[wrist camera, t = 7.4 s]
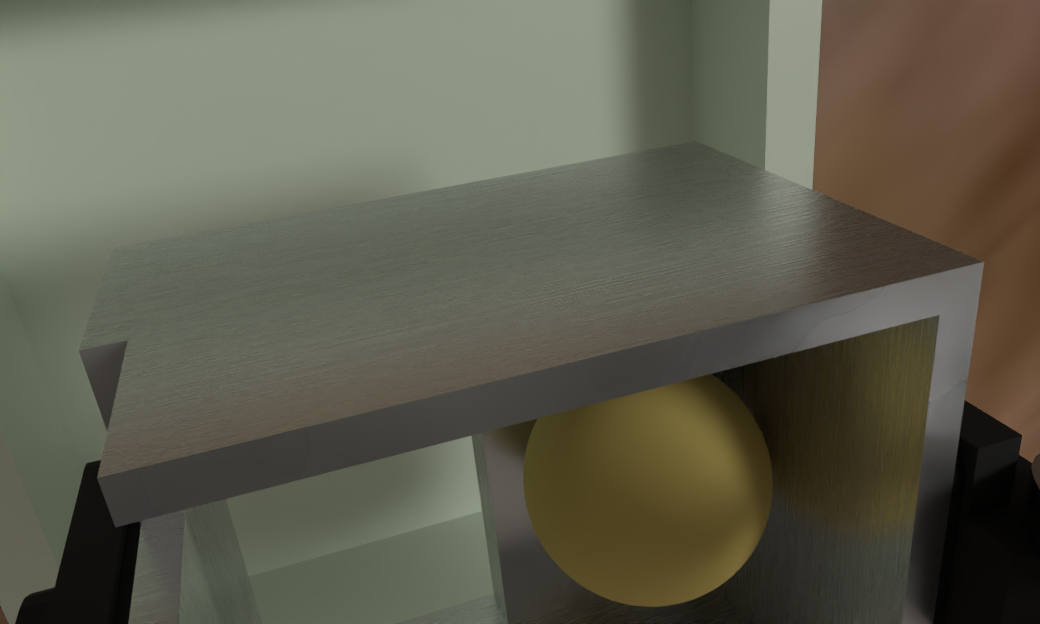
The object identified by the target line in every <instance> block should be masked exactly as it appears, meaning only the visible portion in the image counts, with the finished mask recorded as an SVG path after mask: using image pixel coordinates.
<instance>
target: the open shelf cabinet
mask: <svg viewBox="0 0 1040 624" xmlns="http://www.w3.org/2000/svg"><path fill="white" fill-rule="evenodd" d="M983 266H984V262H983V261H981V260H978V259H976V258H974V257H971V256H969V255H966V254H964V253H962V252H959V251H957V250H955V249H952V248H950V247H947V246H945V245H943V244H940V243H938V242H935V241H933V240H931V239H928V238H926V237H924V236H921V235H919V234H916V233H914V232H912V231H909V230H907V229H904V228H902V227H900V226H897V225H895V224H893V223H890V222H888V221H885V220H883V219H881V218H878V217H876V216H873V215H871V214H869V213H866V212H864V211H862V210H859V209H857V208H854V207H852V206H850V205H847V204H845V203H842V202H840V201H838V200H835V199H833V198H831V197H828V196H826V195H823V194H821V193H819V192H816V191H814V190H811V189H809V188H807V187H804V186H802V185H800V184H797V183H795V182H792V181H790V180H788V179H785V178H783V177H780V176H778V175H776V174H773V173H771V172H769V171H766V170H764V169H761V168H759V167H757V166H754V165H752V164H749V163H747V162H745V161H742V160H740V159H738V158H735V157H733V156H730V155H728V154H726V153H723V152H721V151H718V150H716V149H714V148H711V147H709V146H707V145H704V144H702V143H699V142H697V141H693V142H687V143H682V144H676V145H671V146H666V147H660V148H655V149H649V150H644V151H639V152H633V153H628V154H622V155H617V156H611V157H606V158H601V159H595V160H590V161H584V162H579V163H573V164H568V165H563V166H557V167H552V168H546V169H541V170H535V171H530V172H525V173H519V174H514V175H508V176H503V177H498V178H492V179H487V180H481V181H476V182H470V183H465V184H460V185H454V186H449V187H443V188H438V189H432V190H427V191H422V192H416V193H411V194H405V195H400V196H394V197H389V198H384V199H378V200H373V201H367V202H362V203H357V204H351V205H346V206H340V207H335V208H329V209H324V210H319V211H313V212H308V213H302V214H297V215H291V216H286V217H281V218H275V219H270V220H264V221H259V222H254V223H248V224H243V225H237V226H232V227H226V228H221V229H216V230H210V231H205V232H199V233H194V234H188V235H183V236H178V237H172V238H167V239H161V240H156V241H150V242H145V243H140V244H134V245H129V246H123V247H118V248H113V249H112V252H111V255H110V258H109V261H108V264H107V267H106V270H105V273H104V276H103V279H102V282H101V285H100V288H99V291H98V294H97V297H96V300H95V303H94V306H93V309H92V312H91V315H90V318H89V321H88V324H87V327H86V330H85V333H84V336H83V339H82V342H81V344H80V347H79V353H80V356H81V359H82V362H83V365H84V367H85V370H86V373H87V376H88V379H89V382H90V384H91V387H92V390H93V393H94V396H95V399H96V401H97V404H98V407H99V410H100V413H101V416H102V418H103V421H104V424H105V427H106V430H107V436H106V441H105V445H104V450H103V454H102V459H101V463H100V468H99V472H98V477H97V479H98V482H99V484H100V487H101V490H102V493H103V495H104V498H105V501H106V503H107V506H108V509H109V512H110V514H111V517H112V520H113V522H114V525H115V527H119V526H123V525H127V524H131V523H135V522H138V521H139V523H140V526H141V530H140V537H139V545H138V553H137V560H136V568H135V576H134V584H133V591H132V599H131V607H130V615H129V622H128V624H263V623H262V620H261V617H260V613H259V610H258V606H257V603H256V600H255V596H254V593H253V590H252V586H251V583H250V579H249V576H248V573H247V569H246V566H245V562H244V559H243V556H242V552H241V549H240V546H239V542H238V539H237V535H236V532H235V529H234V525H233V522H232V518H231V515H230V512H229V508H228V505H227V502H226V499H228V498H231V497H235V496H239V495H243V494H247V493H251V492H255V491H259V490H263V489H266V488H270V487H274V486H278V485H282V484H286V483H290V482H294V481H297V480H301V479H305V478H309V477H313V476H317V475H321V474H325V473H328V472H332V471H336V470H340V469H344V468H348V467H352V466H356V465H359V464H363V463H367V462H371V461H375V460H379V459H383V458H387V457H390V456H394V455H398V454H402V453H406V452H410V451H414V450H418V449H421V448H425V447H429V446H433V445H437V444H441V443H445V442H449V441H453V440H456V439H460V438H464V437H468V436H471V437H472V444H473V451H474V458H475V465H476V472H477V479H478V486H479V493H480V500H481V507H482V514H483V521H484V528H485V535H486V542H487V549H488V556H489V563H490V571H491V578H492V585H493V592H494V594H491V595H488V596H484V597H481V598H478V599H474V600H471V601H468V602H465V603H461V604H458V605H455V606H452V607H448V608H445V609H442V610H438V611H435V612H432V613H429V614H425V615H422V616H419V617H416V618H412V619H409V620H406V621H402V622H399V623H396V624H933V620H934V613H935V606H936V599H937V592H938V585H939V578H940V571H941V564H942V557H943V549H944V542H945V535H946V528H947V521H948V514H949V507H950V500H951V493H952V486H953V479H954V472H955V465H956V457H957V450H958V443H959V436H960V429H961V422H962V415H963V408H964V401H965V394H966V387H967V380H968V372H969V365H970V358H971V351H972V344H973V337H974V330H975V323H976V316H977V309H978V302H979V295H980V287H981V280H982V273H983ZM708 374H712V375H713V376H715V377H717V378H718V379H719V380H721V381H722V382H723V383H724V384H725V385H727V386H728V387H729V388H730V389H731V390H732V391H733V392H735V393H736V394H737V396H738V397H739V398H740V399H741V400H742V402H743V403H744V404H745V405H746V407H747V408H748V409H749V410H750V412H751V413H752V415H753V417H754V419H755V420H756V422H757V424H758V426H759V428H760V430H761V431H762V434H763V436H764V439H765V442H766V445H767V448H768V451H769V455H770V460H771V465H772V476H773V493H772V502H771V508H770V513H769V518H768V521H767V524H766V527H765V529H764V532H763V534H762V536H761V538H760V540H759V542H758V544H757V546H756V548H755V549H754V551H753V553H752V554H751V555H750V557H749V558H748V560H747V561H746V562H745V563H744V565H743V566H742V567H741V568H740V569H739V570H738V571H737V572H736V573H735V574H734V575H733V576H732V577H731V578H729V579H728V580H727V581H726V582H724V583H723V584H722V585H720V586H719V587H717V588H715V589H714V590H712V591H710V592H708V593H707V594H705V595H703V596H700V597H698V598H696V599H693V600H690V601H687V602H684V603H679V604H674V605H668V606H659V607H647V606H633V605H628V604H623V603H619V602H616V601H612V600H609V599H607V598H604V597H602V596H599V595H597V594H595V593H593V592H592V591H590V590H588V589H586V588H585V587H583V586H581V585H580V584H578V583H577V582H576V581H574V580H573V579H572V578H571V577H570V576H568V575H567V574H566V573H565V572H564V571H563V570H561V569H560V567H559V566H558V565H557V564H556V563H555V562H554V560H553V559H552V558H551V557H550V555H549V554H548V553H547V552H546V550H545V549H544V547H543V545H542V543H541V542H540V540H539V538H538V536H537V534H536V533H535V531H534V528H533V526H532V523H531V520H530V517H529V514H528V511H527V508H526V503H525V497H524V489H523V466H524V458H525V452H526V448H527V443H528V440H529V437H530V434H531V432H532V429H533V427H534V425H535V423H536V421H537V419H538V418H542V417H546V416H549V415H553V414H557V413H561V412H565V411H569V410H573V409H577V408H580V407H584V406H588V405H592V404H596V403H600V402H604V401H608V400H611V399H615V398H619V397H623V396H627V395H631V394H635V393H639V392H642V391H646V390H650V389H654V388H658V387H662V386H666V385H670V384H674V383H677V382H681V381H685V380H689V379H693V378H697V377H701V376H705V375H708Z"/></svg>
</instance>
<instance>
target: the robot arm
mask: <svg viewBox="0 0 1040 624" xmlns="http://www.w3.org/2000/svg"><path fill="white" fill-rule="evenodd" d="M1021 439H1022V435H1021V434H1019V433H1017V432H1016V431H1014V430H1012V429H1011V428H1009V427H1008V426H1006V425H1004V424H1003V423H1001V422H999V421H998V420H996V419H995V418H993V417H991V416H990V415H988V414H986V413H985V412H983V411H982V410H980V409H978V408H977V407H975V406H973V405H972V404H970V403H969V402H967V401H964V408H963V415H962V422H961V429H960V436H959V443H958V450H957V457H956V465H955V472H954V479H953V486H952V493H951V500H950V507H949V514H948V521H947V528H946V535H945V542H944V549H943V557H942V564H941V571H940V578H939V585H938V592H937V599H936V606H935V613H934V620H933V624H1040V454H1038V455H1037V456H1036V457H1035V459H1034V461H1033V463H1031V462H1029V461H1028V460H1026V459H1025V458H1023V457H1021V456H1020V455H1019V450H1020V445H1021ZM100 463H101V460H97V461H93V462H89V463H86V465H85V468H84V471H83V475H82V479H81V483H80V487H79V491H78V495H77V499H76V503H75V507H74V511H73V515H72V519H71V523H70V527H69V531H68V535H67V539H66V543H65V547H64V551H63V555H62V559H61V563H60V567H59V571H58V575H57V579H56V583H55V587H53V588H50V589H46V590H42V591H39V592H35V593H31V594H29V595H28V596H27V597H25V598H24V600H23V602H22V604H21V606H20V609H19V612H18V615H17V619H16V622H15V624H128V622H129V615H130V607H131V599H132V591H133V584H134V576H135V568H136V560H137V553H138V545H139V537H140V530H141V526H140V523H139V521H138V522H135V523H131V524H127V525H123V526H119V527H115V525H114V522H113V520H112V517H111V514H110V512H109V509H108V506H107V503H106V501H105V498H104V495H103V493H102V490H101V487H100V484H99V482H98V479H97V477H98V472H99V468H100Z"/></svg>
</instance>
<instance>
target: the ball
mask: <svg viewBox="0 0 1040 624" xmlns="http://www.w3.org/2000/svg"><path fill="white" fill-rule="evenodd" d="M523 489H524V497H525V503H526V508H527V511H528V514H529V517H530V520H531V523H532V526H533V528H534V531H535V533H536V534H537V536H538V538H539V540H540V542H541V543H542V545H543V547H544V549H545V550H546V552H547V553H548V554H549V555H550V557H551V558H552V559H553V560H554V562H555V563H556V564H557V565H558V566H559V567H560V569H561V570H563V571H564V572H565V573H566V574H567V575H568V576H570V577H571V578H572V579H573V580H574V581H576V582H577V583H578V584H580V585H581V586H583V587H585V588H586V589H588V590H590V591H592V592H593V593H595V594H597V595H599V596H602V597H604V598H607V599H609V600H612V601H616V602H619V603H623V604H628V605H633V606H647V607H659V606H668V605H674V604H679V603H684V602H687V601H690V600H693V599H696V598H698V597H700V596H703V595H705V594H707V593H708V592H710V591H712V590H714V589H715V588H717V587H719V586H720V585H722V584H723V583H724V582H726V581H727V580H728V579H729V578H731V577H732V576H733V575H734V574H735V573H736V572H737V571H738V570H739V569H740V568H741V567H742V566H743V565H744V563H745V562H746V561H747V560H748V558H749V557H750V555H751V554H752V553H753V551H754V549H755V548H756V546H757V544H758V542H759V540H760V538H761V536H762V534H763V532H764V529H765V527H766V524H767V521H768V518H769V513H770V508H771V502H772V493H773V476H772V465H771V460H770V455H769V451H768V448H767V445H766V442H765V439H764V436H763V434H762V431H761V430H760V428H759V426H758V424H757V422H756V420H755V419H754V417H753V415H752V413H751V412H750V410H749V409H748V408H747V407H746V405H745V404H744V403H743V402H742V400H741V399H740V398H739V397H738V396H737V394H736V393H735V392H733V391H732V390H731V389H730V388H729V387H728V386H727V385H725V384H724V383H723V382H722V381H721V380H719V379H718V378H717V377H715V376H713V375H712V374H708V375H705V376H701V377H697V378H693V379H689V380H685V381H681V382H677V383H674V384H670V385H666V386H662V387H658V388H654V389H650V390H646V391H642V392H639V393H635V394H631V395H627V396H623V397H619V398H615V399H611V400H608V401H604V402H600V403H596V404H592V405H588V406H584V407H580V408H577V409H573V410H569V411H565V412H561V413H557V414H553V415H549V416H546V417H542V418H538V419H537V421H536V423H535V425H534V427H533V429H532V432H531V434H530V437H529V440H528V443H527V448H526V452H525V458H524V466H523Z"/></svg>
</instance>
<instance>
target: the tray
mask: <svg viewBox="0 0 1040 624" xmlns="http://www.w3.org/2000/svg"><path fill="white" fill-rule="evenodd" d="M821 13H822V0H0V606H1V608H2V611H3V613H4V615H5V617H6V619H7V621H8V623H9V624H15V622H16V619H17V615H18V612H19V609H20V606H21V604H22V602H23V600H24V598H25V597H27V596H28V595H29V594H31V593H35V592H39V591H42V590H46V589H50V588H53V587H55V583H56V579H57V575H58V571H59V567H60V563H61V559H62V555H63V551H64V547H65V543H66V539H67V535H68V531H69V527H70V523H71V519H72V515H73V511H74V507H75V503H76V499H77V495H78V491H79V487H80V483H81V479H82V475H83V471H84V468H85V465H86V463H89V462H93V461H97V460H101V459H102V454H103V450H104V445H105V441H106V436H107V430H106V427H105V424H104V421H103V418H102V416H101V413H100V410H99V407H98V404H97V401H96V399H95V396H94V393H93V390H92V387H91V384H90V382H89V379H88V376H87V373H86V370H85V367H84V365H83V362H82V359H81V356H80V353H79V347H80V344H81V342H82V339H83V336H84V333H85V330H86V327H87V324H88V321H89V318H90V315H91V312H92V309H93V306H94V303H95V300H96V297H97V294H98V291H99V288H100V285H101V282H102V279H103V276H104V273H105V270H106V267H107V264H108V261H109V258H110V255H111V252H112V249H113V248H118V247H123V246H129V245H134V244H140V243H145V242H150V241H156V240H161V239H167V238H172V237H178V236H183V235H188V234H194V233H199V232H205V231H210V230H216V229H221V228H226V227H232V226H237V225H243V224H248V223H254V222H259V221H264V220H270V219H275V218H281V217H286V216H291V215H297V214H302V213H308V212H313V211H319V210H324V209H329V208H335V207H340V206H346V205H351V204H357V203H362V202H367V201H373V200H378V199H384V198H389V197H394V196H400V195H405V194H411V193H416V192H422V191H427V190H432V189H438V188H443V187H449V186H454V185H460V184H465V183H470V182H476V181H481V180H487V179H492V178H498V177H503V176H508V175H514V174H519V173H525V172H530V171H535V170H541V169H546V168H552V167H557V166H563V165H568V164H573V163H579V162H584V161H590V160H595V159H601V158H606V157H611V156H617V155H622V154H628V153H633V152H639V151H644V150H649V149H655V148H660V147H666V146H671V145H676V144H682V143H687V142H693V141H697V142H699V143H702V144H704V145H707V146H709V147H711V148H714V149H716V150H718V151H721V152H723V153H726V154H728V155H730V156H733V157H735V158H738V159H740V160H742V161H745V162H747V163H749V164H752V165H754V166H757V167H759V168H761V169H764V170H766V171H769V172H771V173H773V174H776V175H778V176H780V177H783V178H785V179H788V180H790V181H792V182H795V183H797V184H800V185H802V186H804V187H807V188H809V189H811V190H812V182H813V163H814V144H815V126H816V107H817V88H818V69H819V50H820V32H821ZM226 502H227V505H228V508H229V512H230V515H231V518H232V522H233V525H234V529H235V532H236V535H237V539H238V542H239V546H240V549H241V552H242V556H243V559H244V562H245V566H246V569H247V573H248V576H249V579H250V583H251V586H252V590H253V593H254V596H255V600H256V603H257V606H258V610H259V613H260V617H261V620H262V623H263V624H396V623H399V622H402V621H406V620H409V619H412V618H416V617H419V616H422V615H425V614H429V613H432V612H435V611H438V610H442V609H445V608H448V607H452V606H455V605H458V604H461V603H465V602H468V601H471V600H474V599H478V598H481V597H484V596H488V595H491V594H494V592H493V585H492V578H491V571H490V563H489V556H488V549H487V542H486V535H485V528H484V521H483V514H482V507H481V500H480V493H479V486H478V479H477V472H476V465H475V458H474V451H473V444H472V437H471V436H468V437H464V438H460V439H456V440H453V441H449V442H445V443H441V444H437V445H433V446H429V447H425V448H421V449H418V450H414V451H410V452H406V453H402V454H398V455H394V456H390V457H387V458H383V459H379V460H375V461H371V462H367V463H363V464H359V465H356V466H352V467H348V468H344V469H340V470H336V471H332V472H328V473H325V474H321V475H317V476H313V477H309V478H305V479H301V480H297V481H294V482H290V483H286V484H282V485H278V486H274V487H270V488H266V489H263V490H259V491H255V492H251V493H247V494H243V495H239V496H235V497H231V498H228V499H226Z"/></svg>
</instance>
